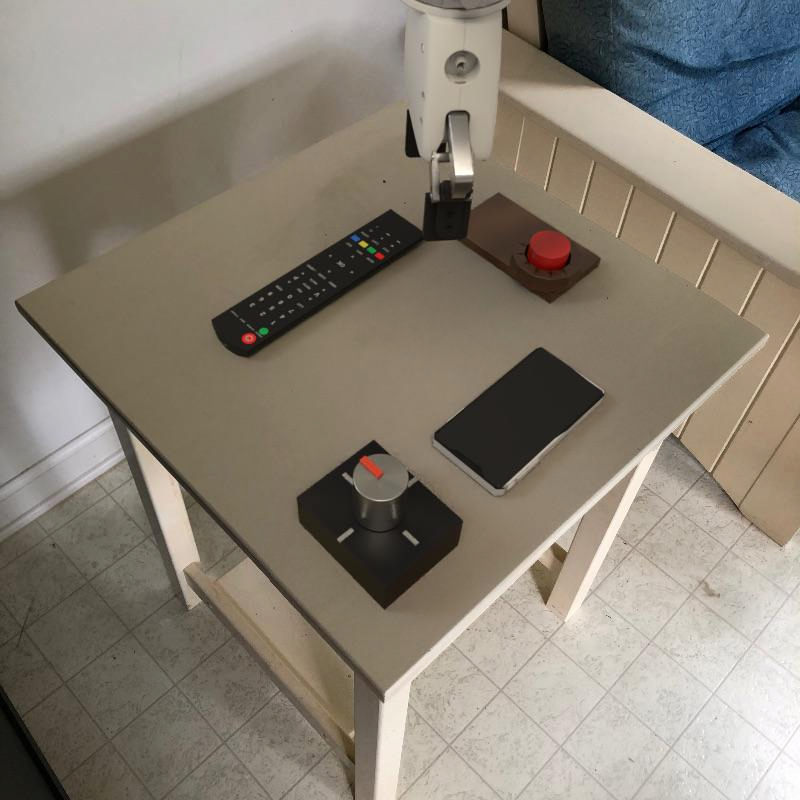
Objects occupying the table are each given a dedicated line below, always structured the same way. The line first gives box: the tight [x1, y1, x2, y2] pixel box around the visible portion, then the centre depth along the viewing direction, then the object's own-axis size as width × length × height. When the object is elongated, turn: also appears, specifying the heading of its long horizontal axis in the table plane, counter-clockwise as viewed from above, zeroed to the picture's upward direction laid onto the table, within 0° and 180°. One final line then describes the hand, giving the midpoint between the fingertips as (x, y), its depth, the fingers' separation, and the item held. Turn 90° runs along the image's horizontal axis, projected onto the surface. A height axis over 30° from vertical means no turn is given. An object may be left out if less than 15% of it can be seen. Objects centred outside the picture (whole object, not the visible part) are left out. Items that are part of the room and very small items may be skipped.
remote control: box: [210, 208, 425, 357], centre depth 81 cm, size 5×24×1 cm, turn 135°
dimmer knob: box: [353, 454, 409, 532], centre depth 60 cm, size 4×4×5 cm
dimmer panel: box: [296, 439, 464, 610], centre depth 64 cm, size 10×8×4 cm
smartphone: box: [432, 346, 606, 497], centre depth 72 cm, size 8×1×15 cm
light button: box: [527, 231, 571, 271], centre depth 81 cm, size 4×4×2 cm
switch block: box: [457, 192, 602, 305], centre depth 85 cm, size 14×9×3 cm, turn 45°
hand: (434, 194), depth 62 cm, fingers open, 9 cm apart
